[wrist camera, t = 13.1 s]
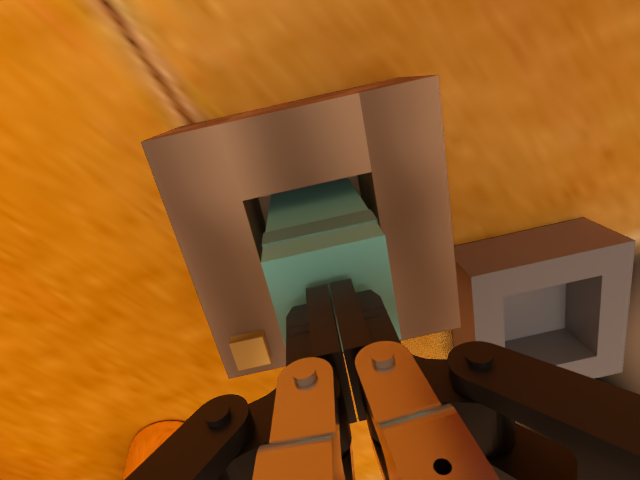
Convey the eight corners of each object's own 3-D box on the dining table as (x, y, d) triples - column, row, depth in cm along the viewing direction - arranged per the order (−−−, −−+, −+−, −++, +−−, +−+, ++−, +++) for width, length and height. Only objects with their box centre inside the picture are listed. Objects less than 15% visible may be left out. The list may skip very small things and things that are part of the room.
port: (398, 77, 21) (444, 74, 15) (423, 274, 26) (465, 334, 20) (179, 127, 21) (135, 144, 15) (241, 314, 26) (227, 387, 20)
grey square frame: (583, 217, 25) (635, 240, 21) (578, 334, 28) (622, 372, 25) (443, 248, 25) (471, 277, 21) (455, 361, 28) (480, 403, 25)
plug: (344, 169, 22) (386, 233, 12) (356, 237, 23) (402, 339, 14) (271, 186, 22) (258, 261, 12) (288, 253, 23) (289, 364, 14)
